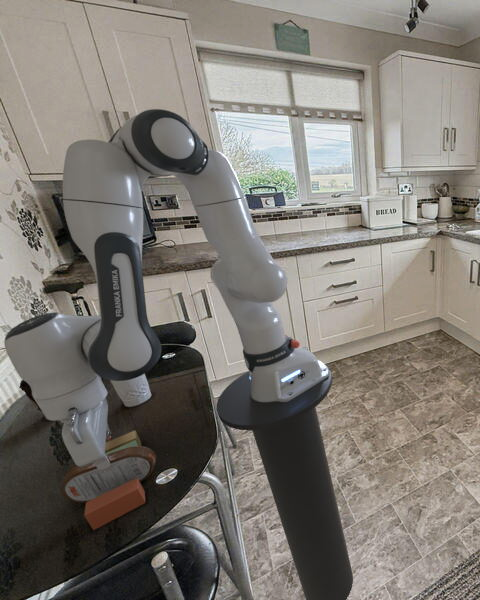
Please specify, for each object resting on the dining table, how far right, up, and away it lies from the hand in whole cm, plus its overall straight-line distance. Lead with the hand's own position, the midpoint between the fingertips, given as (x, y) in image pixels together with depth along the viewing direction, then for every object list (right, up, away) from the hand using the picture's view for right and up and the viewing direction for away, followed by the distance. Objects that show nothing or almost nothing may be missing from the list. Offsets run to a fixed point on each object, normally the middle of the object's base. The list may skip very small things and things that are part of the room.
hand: (106, 452), depth 67 cm
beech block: (-7, -6, +11) cm, 15 cm away
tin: (0, -9, +3) cm, 9 cm away
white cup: (-20, +1, +33) cm, 38 cm away
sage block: (-4, -7, +8) cm, 11 cm away
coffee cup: (-41, -2, +30) cm, 51 cm away
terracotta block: (+5, -10, -2) cm, 12 cm away
